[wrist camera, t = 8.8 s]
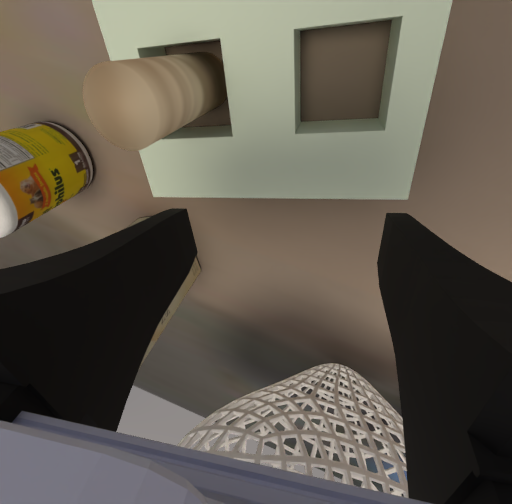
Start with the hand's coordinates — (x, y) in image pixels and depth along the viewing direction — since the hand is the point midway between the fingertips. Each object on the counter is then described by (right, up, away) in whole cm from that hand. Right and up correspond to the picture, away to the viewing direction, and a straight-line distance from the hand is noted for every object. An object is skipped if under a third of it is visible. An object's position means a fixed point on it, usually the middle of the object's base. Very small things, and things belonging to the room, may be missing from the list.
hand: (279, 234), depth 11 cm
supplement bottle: (-16, +7, +13) cm, 22 cm away
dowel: (-4, +10, +7) cm, 13 cm away
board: (0, +9, +6) cm, 11 cm away
